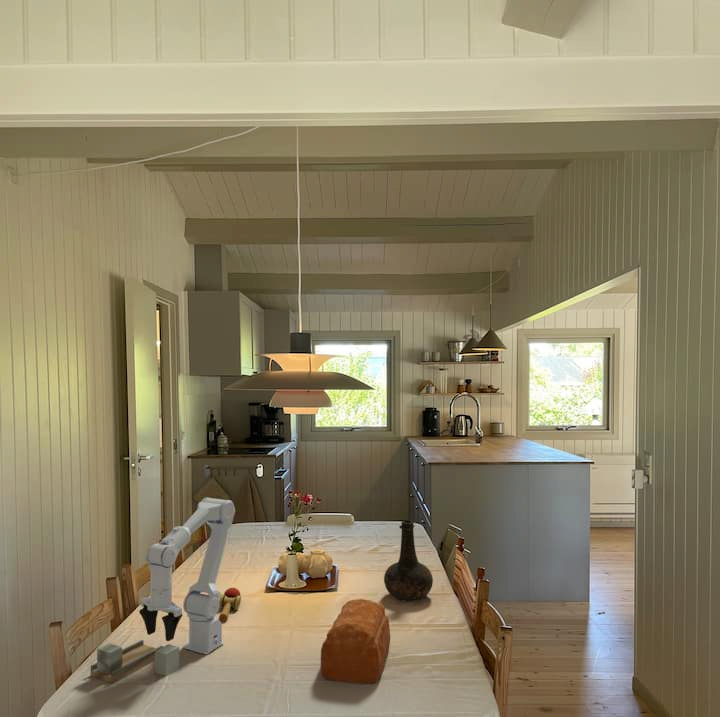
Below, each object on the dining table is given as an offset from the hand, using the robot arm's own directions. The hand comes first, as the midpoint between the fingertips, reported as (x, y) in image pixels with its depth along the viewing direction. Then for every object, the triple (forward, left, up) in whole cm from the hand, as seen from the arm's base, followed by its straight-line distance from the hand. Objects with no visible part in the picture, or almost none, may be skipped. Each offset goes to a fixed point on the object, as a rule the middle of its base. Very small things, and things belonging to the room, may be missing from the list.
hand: (160, 636), depth 173 cm
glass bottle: (-39, -83, -10) cm, 93 cm away
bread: (-46, -31, -10) cm, 56 cm away
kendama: (+10, -42, -10) cm, 44 cm away
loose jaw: (-1, -1, -10) cm, 10 cm away
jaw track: (+11, +2, -10) cm, 14 cm away
